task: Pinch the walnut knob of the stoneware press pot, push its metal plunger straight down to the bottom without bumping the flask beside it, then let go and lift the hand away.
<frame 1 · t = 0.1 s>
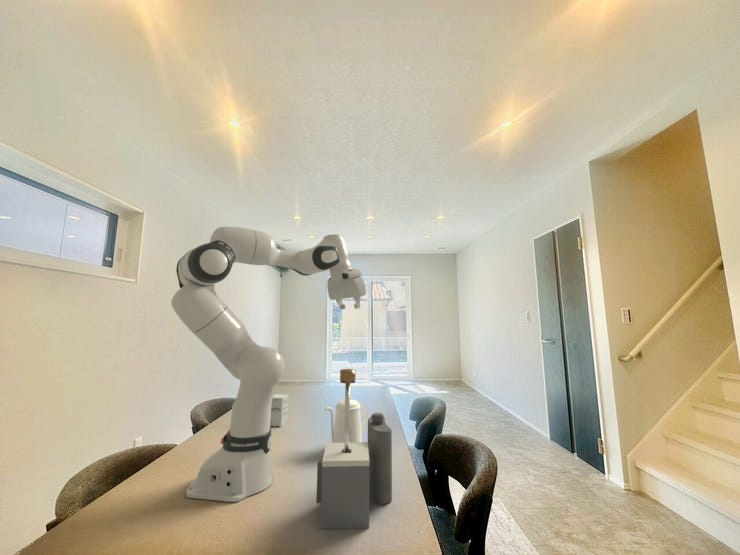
hand: (350, 308, 120), 52 cm above the table, tool tilted 20°, fingers open, 8 cm apart
plunger: (347, 419, 77), point 22 cm above the table, slide at 8.0 cm
flask: (378, 490, 84), on the table
supplement box: (277, 424, 139), on the table
coffeepot: (346, 450, 111), on the table
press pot: (345, 513, 73), on the table
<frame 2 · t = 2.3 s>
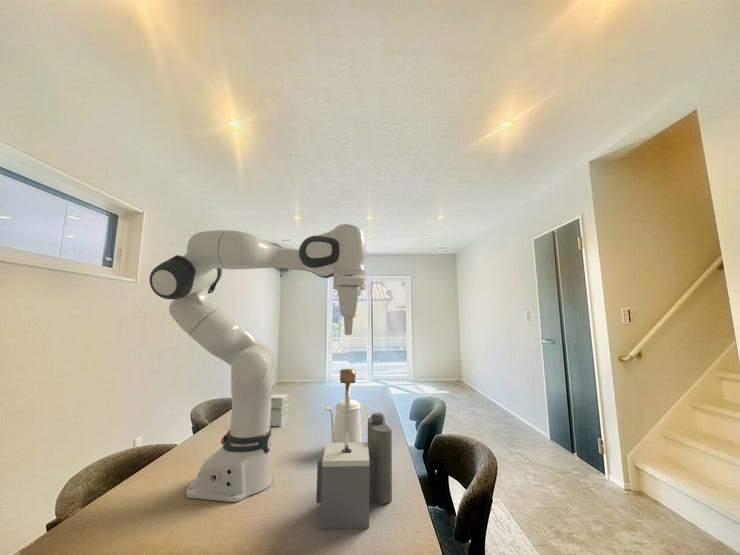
hand: (348, 334, 80), 43 cm above the table, tool pointing down, fingers open, 8 cm apart
nothing on the table moved.
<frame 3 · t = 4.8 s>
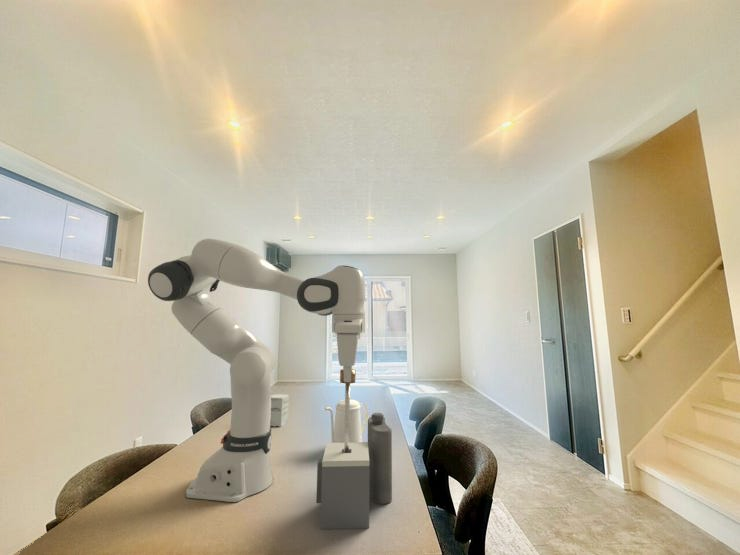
hand: (347, 379, 78), 31 cm above the table, tool pointing down, fingers closed on plunger, 4 cm apart
plunger: (347, 419, 77), point 22 cm above the table, slide at 8.0 cm, touching gripper
everything else where it was.
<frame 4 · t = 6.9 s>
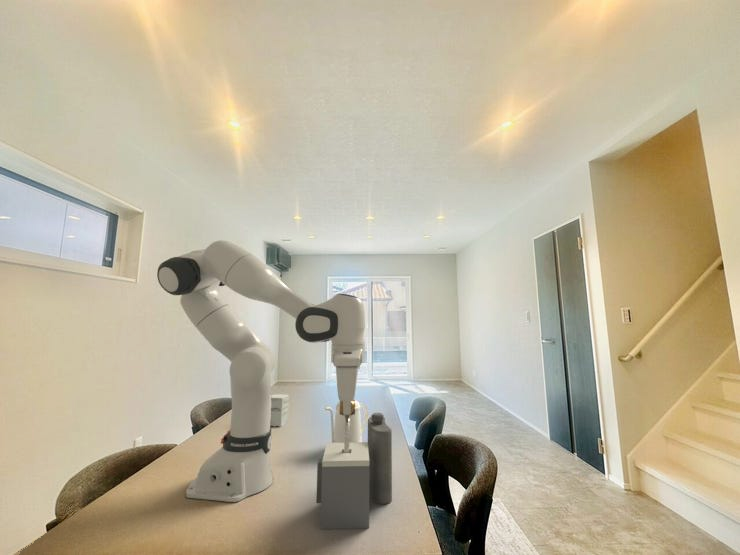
hand: (347, 410, 77), 24 cm above the table, tool pointing down, fingers closed on plunger, 4 cm apart
plunger: (346, 452, 76), point 14 cm above the table, slide at 0.3 cm, touching gripper
everything else where it was.
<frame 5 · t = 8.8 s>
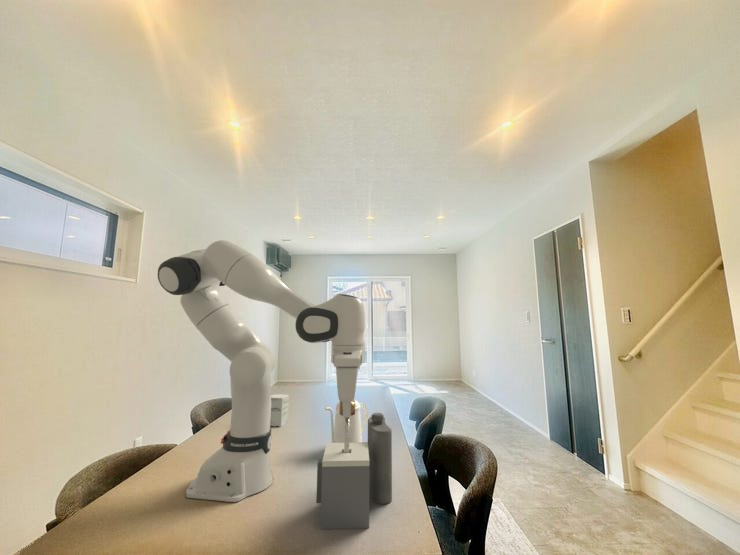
hand: (347, 411, 77), 24 cm above the table, tool pointing down, fingers open, 8 cm apart
plunger: (346, 452, 76), point 14 cm above the table, slide at 0.2 cm
everything else where it was.
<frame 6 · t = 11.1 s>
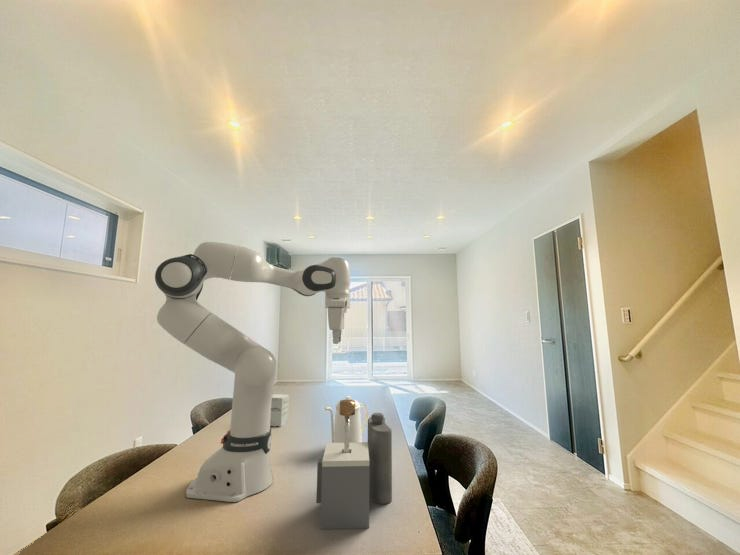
hand: (337, 342, 105), 39 cm above the table, tool pointing down, fingers open, 8 cm apart
nothing on the table moved.
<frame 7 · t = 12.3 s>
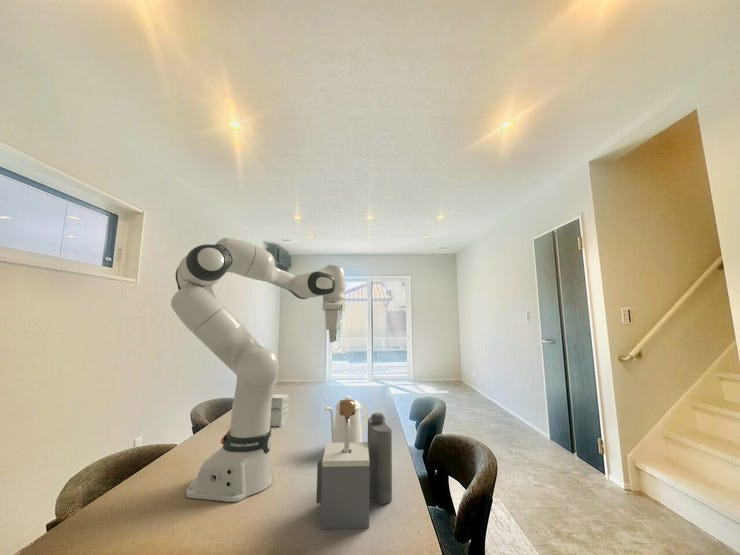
hand: (332, 341, 118), 39 cm above the table, tool pointing down, fingers open, 8 cm apart
nothing on the table moved.
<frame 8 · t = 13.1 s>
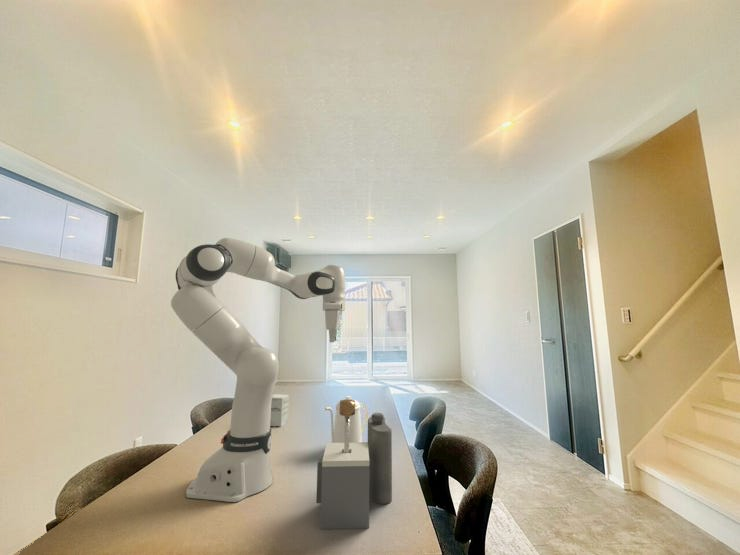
hand: (332, 341, 118), 39 cm above the table, tool pointing down, fingers open, 8 cm apart
nothing on the table moved.
at the end: plunger slide at 0.2 cm; the gripper is holding nothing; flask moved 0.2 cm from its start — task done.
